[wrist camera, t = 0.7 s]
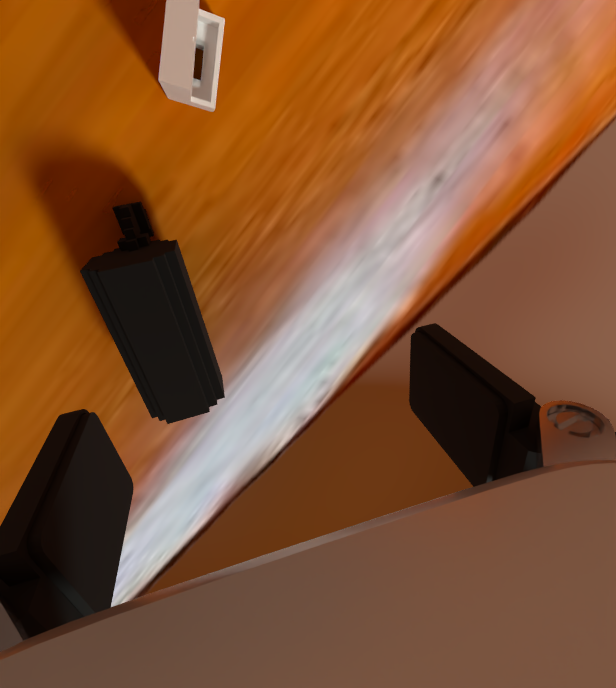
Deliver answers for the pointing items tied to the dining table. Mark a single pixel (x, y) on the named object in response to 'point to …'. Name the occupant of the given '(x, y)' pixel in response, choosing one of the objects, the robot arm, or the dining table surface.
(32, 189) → the dining table surface
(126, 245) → the security camera
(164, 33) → the white wedge bracket
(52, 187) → the dining table surface
